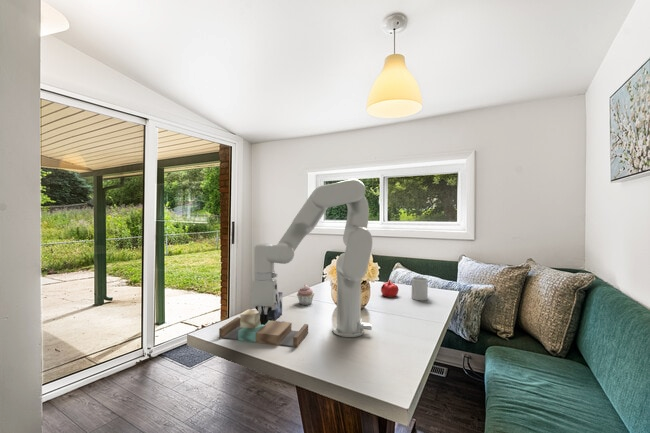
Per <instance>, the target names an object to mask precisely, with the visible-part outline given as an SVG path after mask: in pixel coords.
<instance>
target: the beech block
mask: <svg viewBox="0 0 650 433" xmlns="http://www.w3.org/2000/svg"><path fill="white" fill-rule="evenodd" d="M239 316H240V327H243V328H253V329H255V328H256V327H258V326H259V325H260V324H261V322H260V314H259V313H258V311H257V310H256V309H249V308H248V309H246V310H245V311H243V312H242V313H240V315H239Z"/></svg>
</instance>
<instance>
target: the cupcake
mask: <svg viewBox="0 0 650 433" xmlns="http://www.w3.org/2000/svg"><path fill="white" fill-rule="evenodd" d="M296 296H297V299H298V303H299V304H300V305H304V306H308V305H311V304H312V303H313V299H314V296H315V293H314V292H313V289H312V288H311V287H310V286H309V285H307V284H304V286H301V287H300V289H298V290H297V294H296Z"/></svg>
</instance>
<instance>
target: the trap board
mask: <svg viewBox="0 0 650 433" xmlns="http://www.w3.org/2000/svg"><path fill="white" fill-rule="evenodd" d="M308 334H309V324H306V323H304V324H303V326H301V328H300V329H299V330H292V322H288V321H280V320H279V321H278V320H275V321H270V320H269V321H268V323H267V324H265V325H263V324H262V325H261V324H260V325H259V326H258V327H256V328H255V329H253V328H243V327H240V317H239V316H236V317H235V318H234V319H232V320H231V321H229V322H228V323H225V324H224V325H223V326H221V327H219V329H218V338H219V339H225V340H233V341H242V342H248V343H249V342H250V343H257V344H265V345H275V346H283V347H290V348H298V347H300V345H301V343H302V342H303V341H304V339H305V338H306V337H307V335H308Z"/></svg>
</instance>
